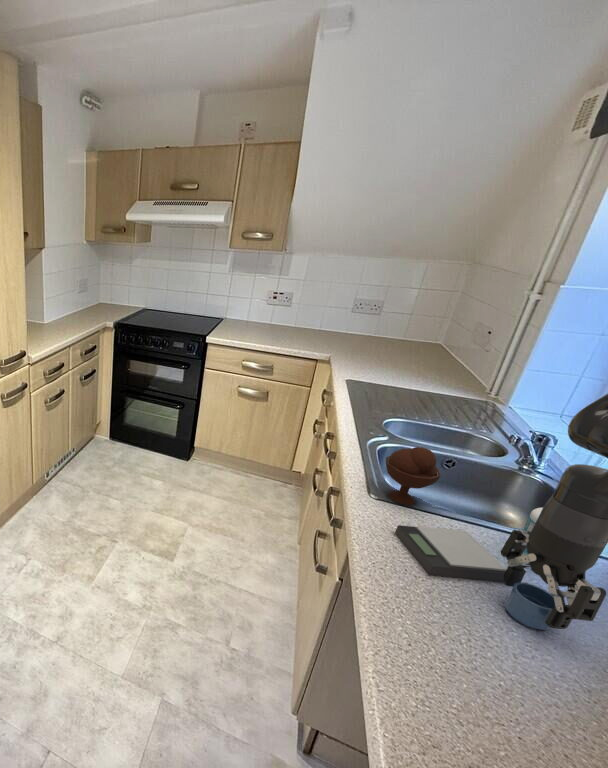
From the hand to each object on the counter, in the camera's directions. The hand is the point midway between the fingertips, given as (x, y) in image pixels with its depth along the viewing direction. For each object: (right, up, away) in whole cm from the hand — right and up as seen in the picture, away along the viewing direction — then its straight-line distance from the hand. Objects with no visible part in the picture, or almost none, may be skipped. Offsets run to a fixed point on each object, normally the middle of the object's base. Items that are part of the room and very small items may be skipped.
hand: (530, 604), depth 71 cm
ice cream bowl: (+2, +9, +33) cm, 34 cm away
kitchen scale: (-2, +2, +14) cm, 15 cm away
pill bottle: (+16, +1, +14) cm, 21 cm away
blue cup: (0, -3, +1) cm, 3 cm away
